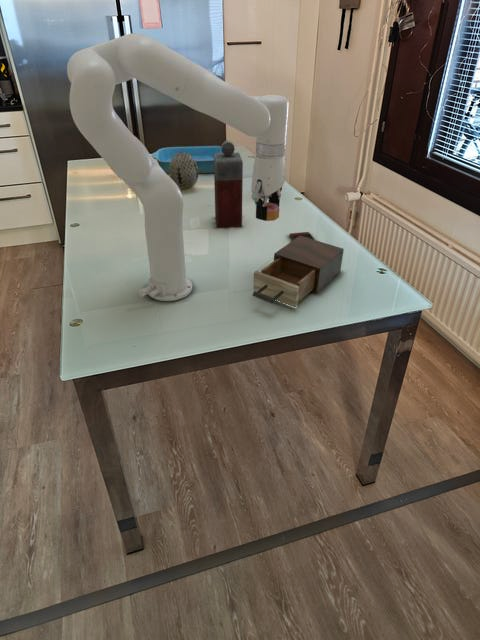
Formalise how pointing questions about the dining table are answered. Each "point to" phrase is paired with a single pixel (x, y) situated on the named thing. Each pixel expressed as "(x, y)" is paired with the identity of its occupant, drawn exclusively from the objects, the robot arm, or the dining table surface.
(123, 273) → the dining table surface
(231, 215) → the toy vending machine
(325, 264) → the cabinet
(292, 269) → the drawer
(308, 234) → the smartphone
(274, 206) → the donut
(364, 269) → the dining table surface
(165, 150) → the casserole dish
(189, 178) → the decorative egg
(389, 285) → the dining table surface
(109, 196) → the dining table surface
